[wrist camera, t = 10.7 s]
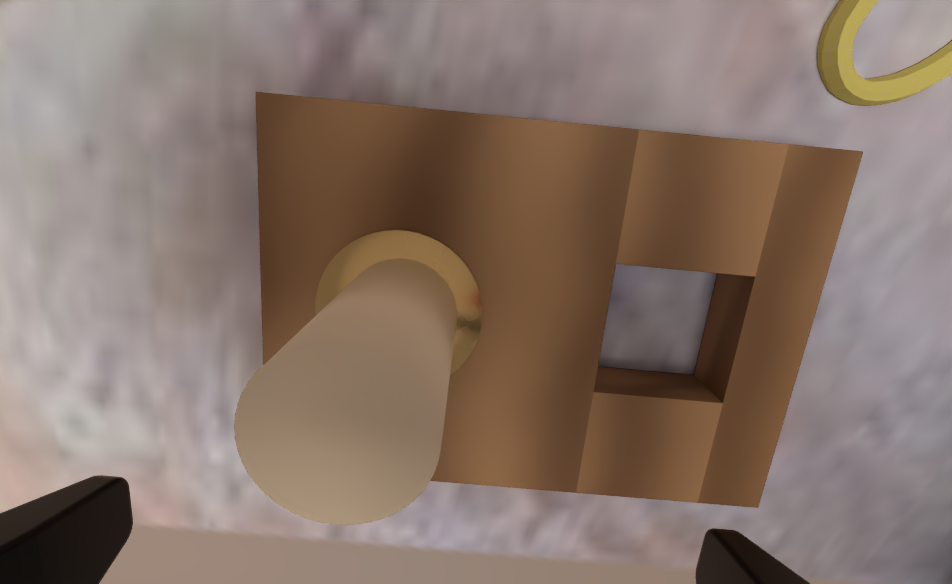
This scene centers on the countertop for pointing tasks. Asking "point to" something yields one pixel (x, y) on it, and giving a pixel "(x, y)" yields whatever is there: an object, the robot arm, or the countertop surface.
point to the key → (874, 91)
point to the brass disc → (418, 249)
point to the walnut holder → (569, 279)
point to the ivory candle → (355, 399)
